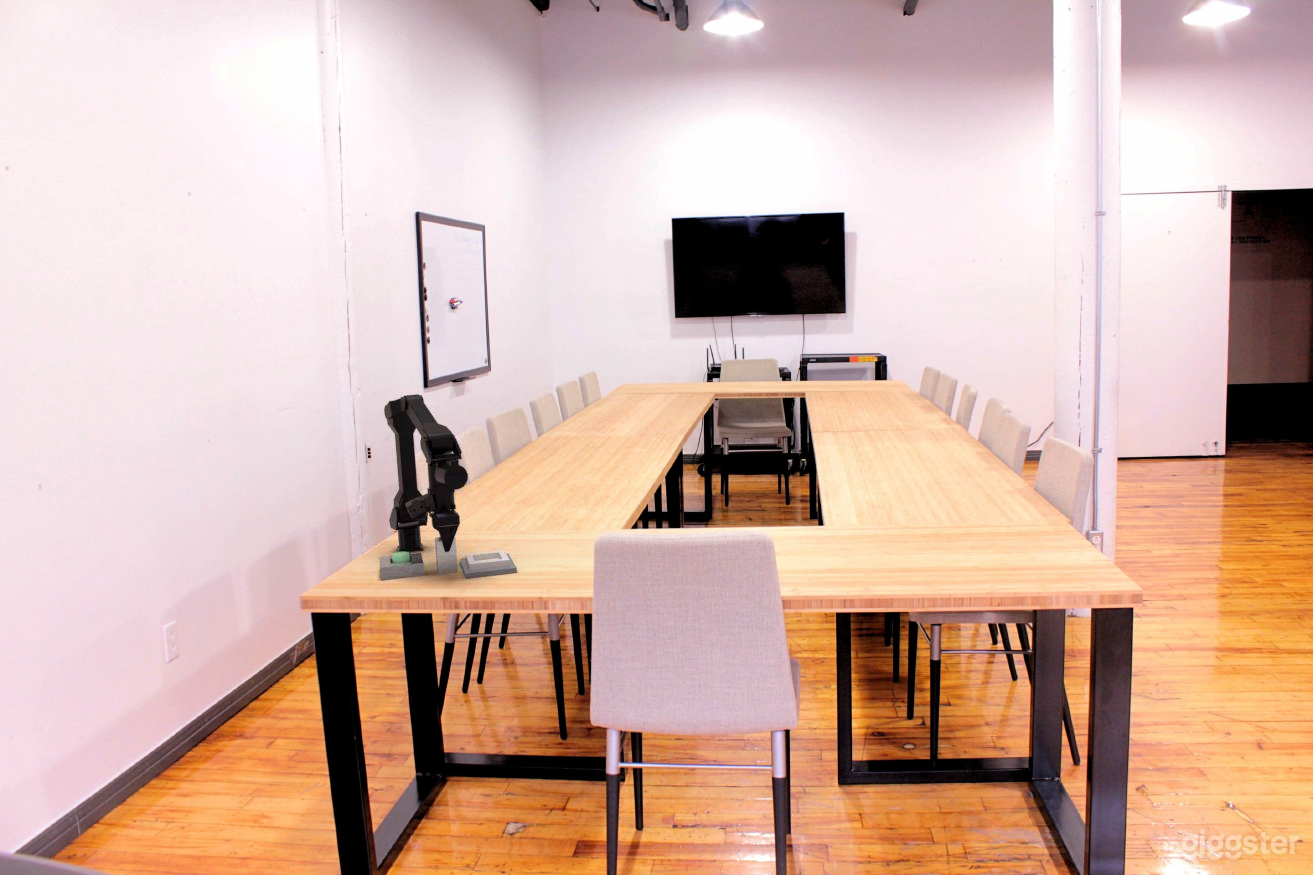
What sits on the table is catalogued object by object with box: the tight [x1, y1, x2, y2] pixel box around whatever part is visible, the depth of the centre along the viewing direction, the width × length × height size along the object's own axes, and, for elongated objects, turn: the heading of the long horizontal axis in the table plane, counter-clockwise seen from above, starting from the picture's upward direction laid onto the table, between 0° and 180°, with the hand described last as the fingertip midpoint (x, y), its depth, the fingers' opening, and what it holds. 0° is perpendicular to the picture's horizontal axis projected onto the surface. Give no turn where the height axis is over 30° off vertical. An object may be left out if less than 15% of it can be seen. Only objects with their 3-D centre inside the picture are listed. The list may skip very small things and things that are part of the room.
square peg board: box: [378, 552, 425, 581], centre depth 238 cm, size 10×10×3 cm
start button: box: [391, 551, 410, 563], centre depth 238 cm, size 4×4×4 cm
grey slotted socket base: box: [459, 549, 518, 579], centre depth 239 cm, size 14×12×3 cm
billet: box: [434, 536, 459, 575], centre depth 237 cm, size 4×4×8 cm
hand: (445, 547), depth 237 cm, fingers open, 9 cm apart
